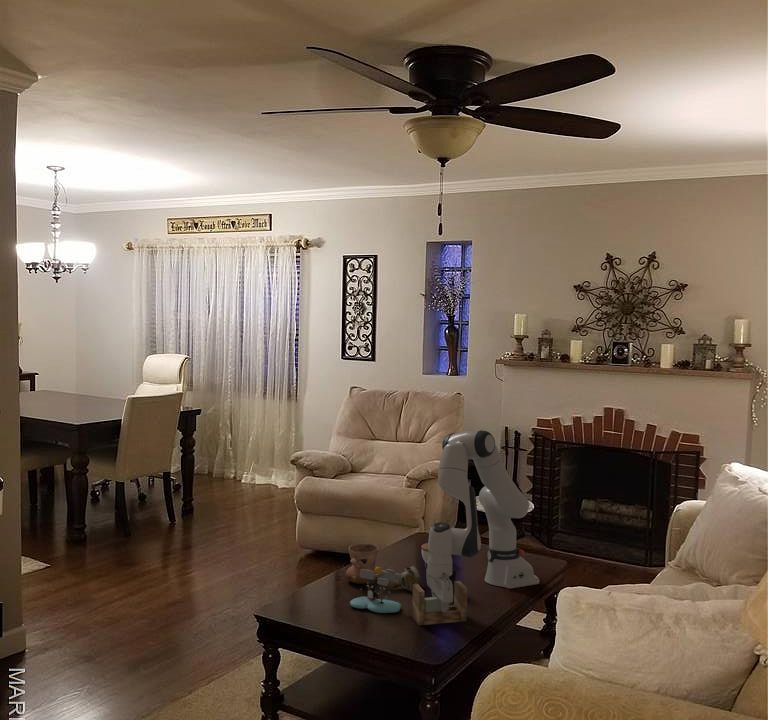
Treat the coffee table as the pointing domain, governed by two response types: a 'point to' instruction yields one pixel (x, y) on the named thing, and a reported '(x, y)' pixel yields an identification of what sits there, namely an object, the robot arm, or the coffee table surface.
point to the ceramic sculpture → (407, 579)
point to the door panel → (433, 605)
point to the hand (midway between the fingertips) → (439, 606)
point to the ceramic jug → (361, 561)
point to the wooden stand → (453, 615)
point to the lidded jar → (425, 552)
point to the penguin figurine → (370, 601)
